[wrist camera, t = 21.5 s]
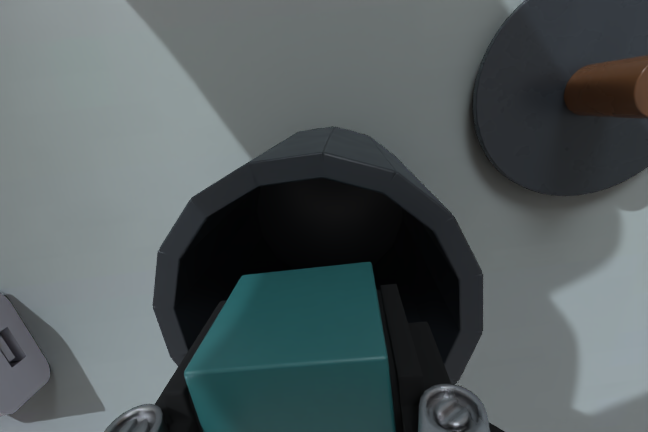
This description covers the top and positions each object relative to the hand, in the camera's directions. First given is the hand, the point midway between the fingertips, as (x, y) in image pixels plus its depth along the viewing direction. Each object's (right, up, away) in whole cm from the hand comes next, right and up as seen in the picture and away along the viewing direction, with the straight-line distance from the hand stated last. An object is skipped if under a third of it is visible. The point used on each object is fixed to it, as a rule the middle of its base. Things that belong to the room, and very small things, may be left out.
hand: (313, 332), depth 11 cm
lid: (+16, +11, +8) cm, 21 cm away
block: (0, 0, 0) cm, 1 cm away
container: (+1, +4, +12) cm, 13 cm away
